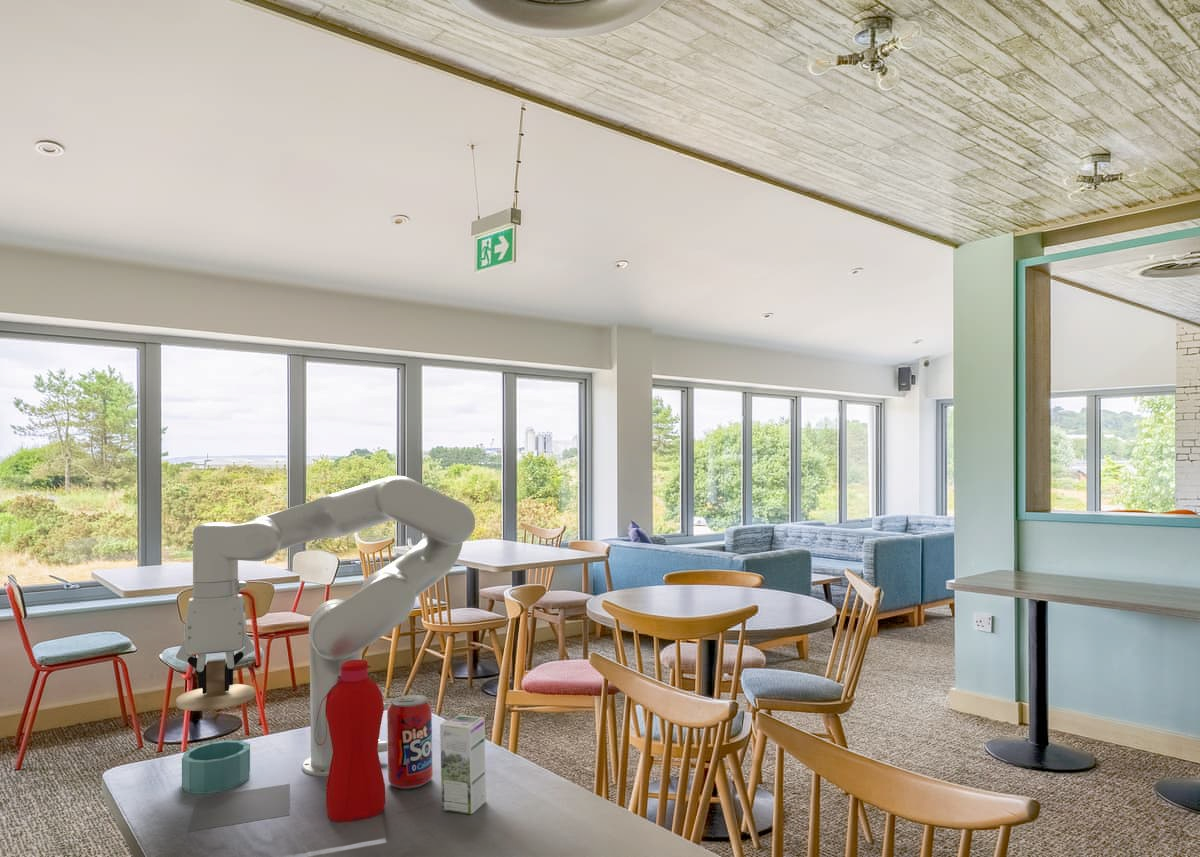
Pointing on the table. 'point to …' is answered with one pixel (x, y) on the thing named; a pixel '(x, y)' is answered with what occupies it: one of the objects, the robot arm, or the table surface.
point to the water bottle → (354, 745)
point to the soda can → (409, 741)
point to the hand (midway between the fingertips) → (216, 689)
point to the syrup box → (463, 764)
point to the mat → (241, 807)
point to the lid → (215, 691)
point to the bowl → (215, 766)
